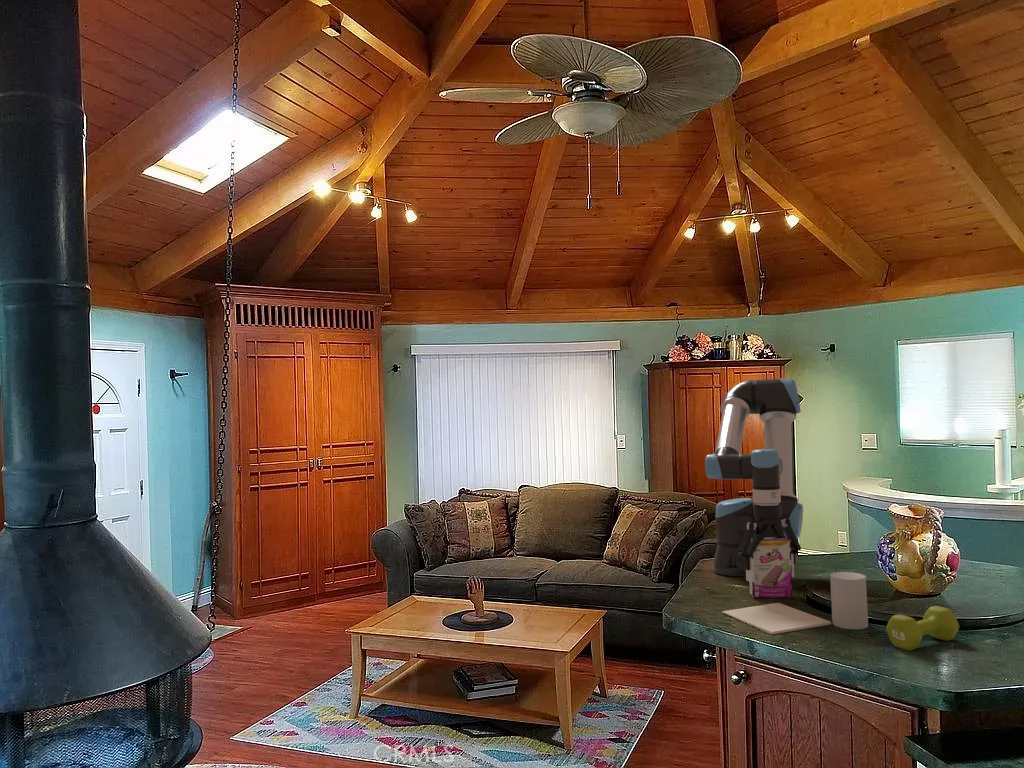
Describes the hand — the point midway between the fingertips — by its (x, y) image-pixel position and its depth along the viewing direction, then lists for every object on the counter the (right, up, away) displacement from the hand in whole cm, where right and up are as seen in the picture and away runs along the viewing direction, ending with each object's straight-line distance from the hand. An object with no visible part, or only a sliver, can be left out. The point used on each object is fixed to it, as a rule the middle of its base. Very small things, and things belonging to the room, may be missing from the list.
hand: (770, 578), depth 219 cm
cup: (+10, -4, -28) cm, 30 cm away
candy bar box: (0, -5, 0) cm, 5 cm away
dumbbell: (+20, -4, -44) cm, 48 cm away
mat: (-6, -5, -21) cm, 23 cm away
